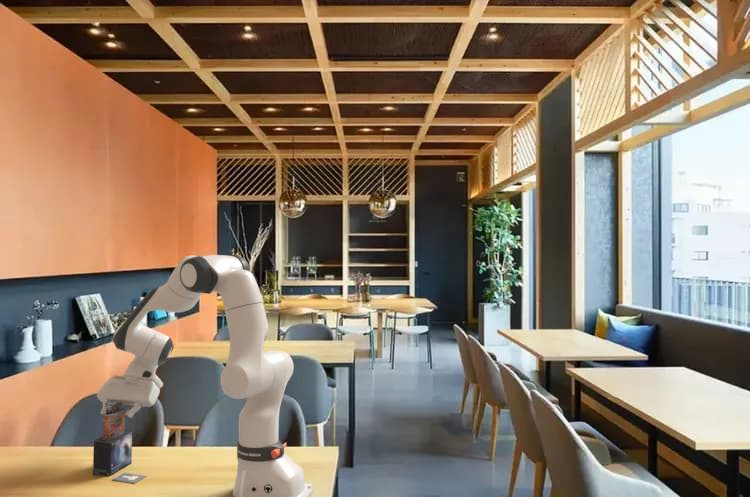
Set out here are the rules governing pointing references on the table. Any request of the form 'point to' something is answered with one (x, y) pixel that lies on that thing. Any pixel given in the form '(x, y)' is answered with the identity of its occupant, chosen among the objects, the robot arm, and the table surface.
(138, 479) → the card
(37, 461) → the table surface
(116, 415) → the lighter
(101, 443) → the small box
